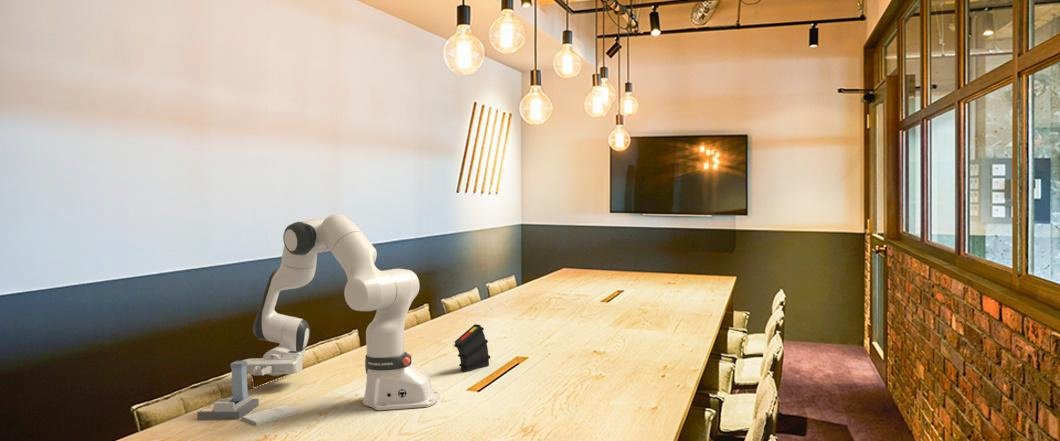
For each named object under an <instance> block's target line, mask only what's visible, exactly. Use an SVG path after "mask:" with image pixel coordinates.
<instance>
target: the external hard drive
mask: <svg viewBox="0 0 1060 441" xmlns="http://www.w3.org/2000/svg"><path fill="white" fill-rule="evenodd" d="M298 411H299V410H297V409H295V408H293V407H289V406H286V405H284V404H283V405H280V406H279V405H278V406H275V407H272V408H268V409H265V410H260V411H256V412H254V413H253V412H252V413H250V414H249V413H248V414H246V415H244V416H242V417H241V418H240V419H241V421H243V420H244V422H246V423H248V422H249V424H251V425H254V426H256V427H257V426H260V425H263V424H268V423H270V422H274V421H277V420H280V419H283V418H286V417H290V416H293V415H297V414H299V412H298Z"/></svg>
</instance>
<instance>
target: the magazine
mask: <svg viewBox="0 0 1060 441" xmlns="http://www.w3.org/2000/svg"><path fill="white" fill-rule="evenodd" d="M454 343H455V344H453V346H454V348H456V349H457V352H458V354H457V357H459V359H460V363H459V364H458V366H459V367H460V371H463V372H465V373H467V372H471V371H473V370H477V369H481V368H486V367H489V366H490V359H491V355H489V348H488V343H489V340H488V339H486V335H485V333H484V326H483V327H482V325H481V324H477V323H475V324H473V325H472V326H471V327H470V328H469V329H467V330H466V331H465V332H464V333H463V334H462V335H460V336H459V337H458V338H457V339H456V340H455V341H454Z"/></svg>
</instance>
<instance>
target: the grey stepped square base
mask: <svg viewBox="0 0 1060 441" xmlns="http://www.w3.org/2000/svg"><path fill="white" fill-rule="evenodd" d="M259 400H260V399H259V398H253V395H248V397H246V398H245V399H243V400H242V401H239V402H233V396H231V397H230V398H219V399H217V400H216V401H214V402H212V403H210V404H208V405H206V407H204V408H202V409H200V410H199V411H197V413H196V414H197V420H241V419H242V418H241V417H242V416H246V415H248V414H249V413H250V412H252V411H253V410H254V409H255V408H257V407H259V405H260V403H259ZM248 412H249V413H248Z"/></svg>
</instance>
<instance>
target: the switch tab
mask: <svg viewBox="0 0 1060 441" xmlns="http://www.w3.org/2000/svg"><path fill="white" fill-rule="evenodd" d="M246 365H247V361H242V360H235V361H233V362H231V363H230V365H229V366H230V370H231V387H232V388H231V389H232V390H231V392H232V397H233V402H239V401H242V400H243V399H245V398H246V397H248V396H249V393H248V376H247V375H248V374H247V369H246Z"/></svg>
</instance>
